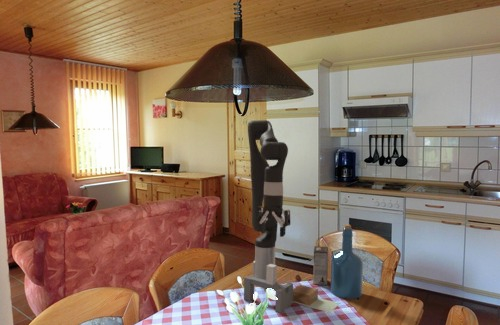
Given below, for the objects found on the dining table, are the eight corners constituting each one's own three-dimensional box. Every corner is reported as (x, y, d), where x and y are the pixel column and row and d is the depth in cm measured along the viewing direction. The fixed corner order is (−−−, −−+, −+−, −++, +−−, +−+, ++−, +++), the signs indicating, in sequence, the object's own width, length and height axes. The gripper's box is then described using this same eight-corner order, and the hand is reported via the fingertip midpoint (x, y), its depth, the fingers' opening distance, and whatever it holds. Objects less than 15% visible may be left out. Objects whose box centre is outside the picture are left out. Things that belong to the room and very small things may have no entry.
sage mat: (283, 301, 144) (283, 299, 144) (294, 293, 152) (294, 291, 152) (330, 315, 133) (330, 312, 133) (339, 305, 141) (339, 303, 141)
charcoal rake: (238, 302, 143) (239, 262, 142) (252, 294, 151) (253, 256, 151) (280, 315, 132) (281, 272, 132) (292, 305, 141) (293, 265, 140)
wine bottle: (344, 286, 161) (346, 220, 160) (368, 297, 150) (370, 226, 149) (322, 292, 154) (324, 223, 153) (346, 304, 143) (348, 229, 142)
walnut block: (291, 300, 143) (291, 290, 143) (300, 294, 150) (300, 284, 150) (309, 305, 139) (309, 295, 138) (317, 298, 145) (318, 289, 145)
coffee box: (313, 279, 170) (314, 245, 170) (327, 280, 169) (328, 246, 168) (312, 286, 161) (313, 251, 161) (327, 287, 160) (328, 252, 159)
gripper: (252, 192, 140) (252, 233, 140) (284, 196, 132) (283, 239, 132) (263, 191, 146) (262, 230, 146) (294, 194, 138) (293, 235, 138)
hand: (272, 234), depth 139 cm, fingers open, 8 cm apart
